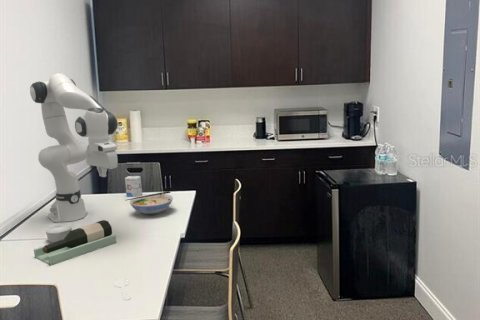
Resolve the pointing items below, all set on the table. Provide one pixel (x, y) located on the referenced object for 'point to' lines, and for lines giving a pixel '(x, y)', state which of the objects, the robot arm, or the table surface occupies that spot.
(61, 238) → the ramekin
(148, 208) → the ramen bowl
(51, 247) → the wine bottle
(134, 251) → the table surface
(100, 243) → the tray
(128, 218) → the table surface
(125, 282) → the spoon
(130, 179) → the ink box
